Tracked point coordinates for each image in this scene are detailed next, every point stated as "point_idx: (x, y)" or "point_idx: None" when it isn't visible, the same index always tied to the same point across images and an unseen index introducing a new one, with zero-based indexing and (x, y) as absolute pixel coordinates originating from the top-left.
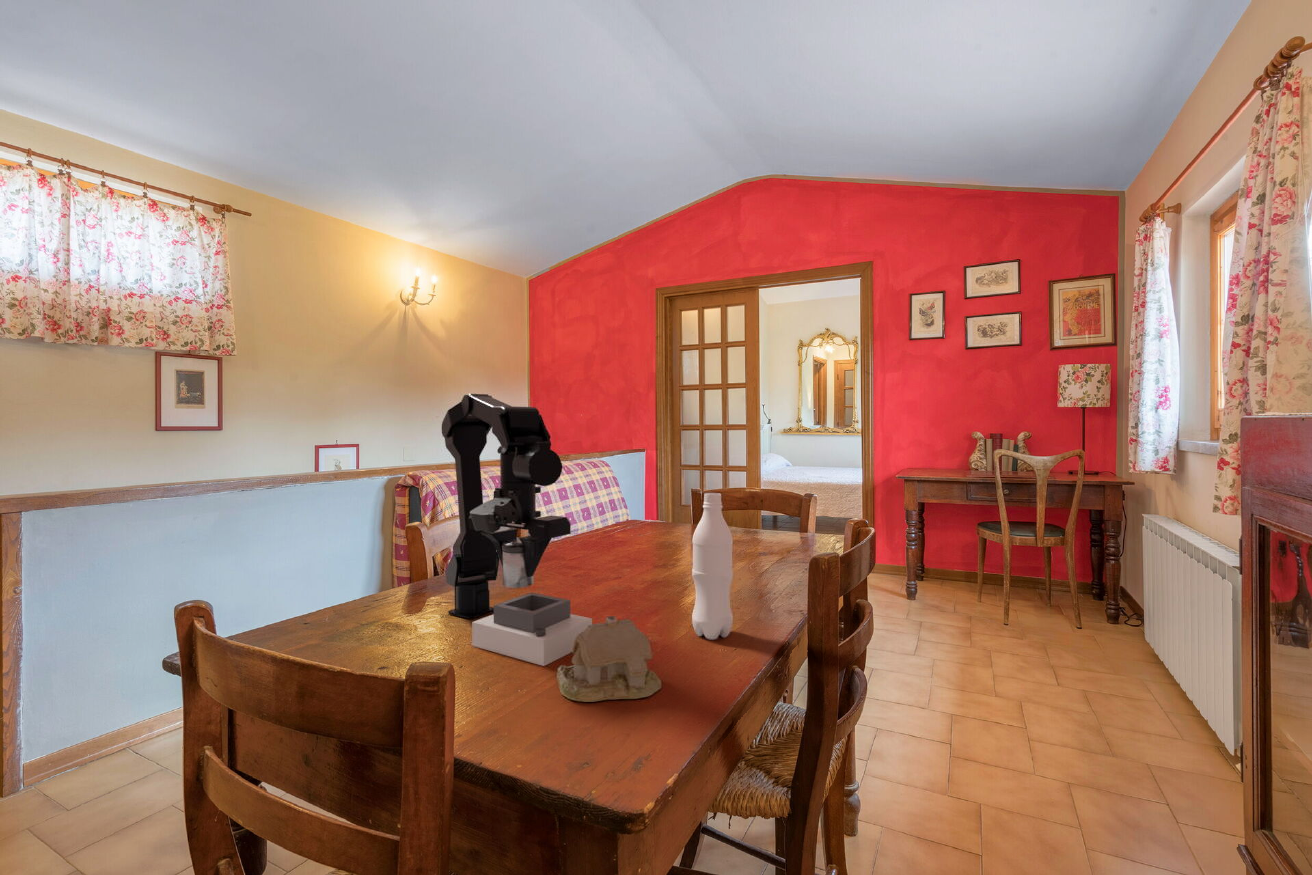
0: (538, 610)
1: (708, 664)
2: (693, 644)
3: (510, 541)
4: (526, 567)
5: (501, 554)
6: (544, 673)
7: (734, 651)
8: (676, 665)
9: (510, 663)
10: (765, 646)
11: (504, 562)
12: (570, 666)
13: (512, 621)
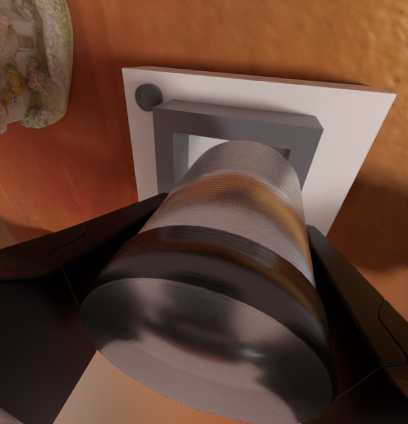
0: (165, 142)
1: (11, 177)
2: (63, 223)
3: (267, 386)
4: (149, 206)
5: (340, 284)
6: (125, 34)
7: (24, 217)
8: (27, 161)
9: (215, 39)
10: (18, 236)
11: (261, 198)
12: (46, 27)
13: (240, 110)
